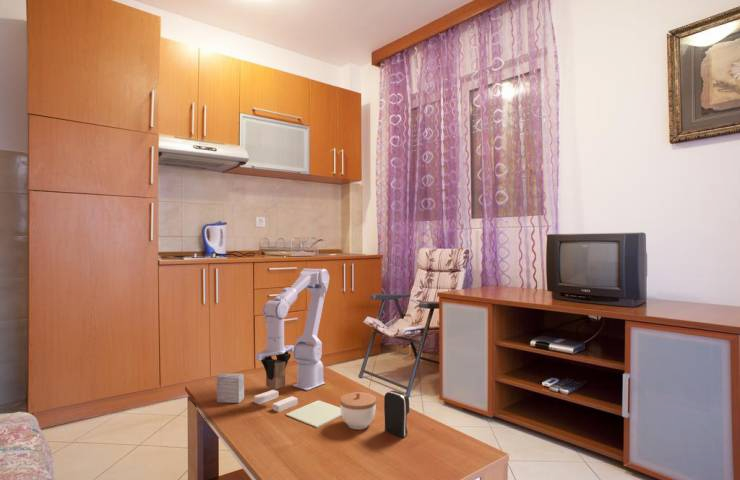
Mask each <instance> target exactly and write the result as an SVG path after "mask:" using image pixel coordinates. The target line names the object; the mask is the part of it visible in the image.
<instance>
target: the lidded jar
mask: <svg viewBox="0 0 740 480" xmlns="http://www.w3.org/2000/svg"><path fill="white" fill-rule="evenodd" d="M339 403H340V408H341V415H342V416H341V418H342V420H343V422H344V423H345V424H346V425H347V427H348V428H350V429H352V430H364V429H367V427H369V425H370V424H371V423H372V421H373V420H374V418H375V415H376V410H377V409H376V407H377V405H376V404H377V398H376V396H375V395H373V394H371V393H370V392H363V391H354V392H353V391H352V392H349V393H346V394H343V395H342V396H341V397H340V398H339Z"/></svg>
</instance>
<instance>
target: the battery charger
mask: <svg viewBox="0 0 740 480" xmlns="http://www.w3.org/2000/svg"><path fill="white" fill-rule="evenodd" d="M383 397H384V400H383V407H384V408H383V413H384V431H385V432H387V433H389V434H391V435H393V436H397V437H399V438H405V437H406V436H407V435H408V430H407V419H408V418H407V417H408V414H409V413H410V397H409V396H408V394H406V393H404V392H401V391H398V390H397V391H396V390H390V391H387V392H386V393H385V394H384V396H383Z"/></svg>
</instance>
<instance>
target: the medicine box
mask: <svg viewBox="0 0 740 480" xmlns="http://www.w3.org/2000/svg"><path fill="white" fill-rule="evenodd" d="M244 377H245V375H244V373H230V372H229V373H221V374H219V375H217V377H216V403H230V404H240V403H241V402H242V401H243V400H244V399H245V378H244Z"/></svg>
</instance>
